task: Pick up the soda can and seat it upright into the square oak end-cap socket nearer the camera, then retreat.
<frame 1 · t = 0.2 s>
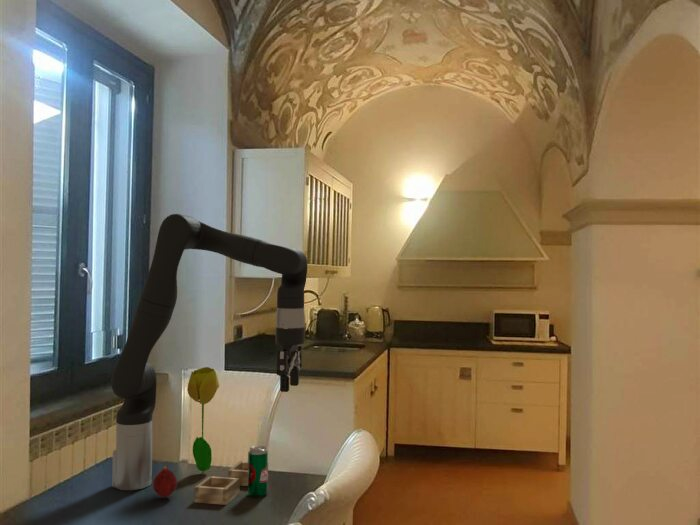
hand: (289, 388, 158), 28 cm above the table, fingers open, 8 cm apart
soda can: (257, 495, 159), on the table
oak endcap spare: (248, 480, 170), on the table
onion: (165, 498, 156), on the table
flower: (202, 474, 176), on the table
oak endcap: (217, 497, 157), on the table
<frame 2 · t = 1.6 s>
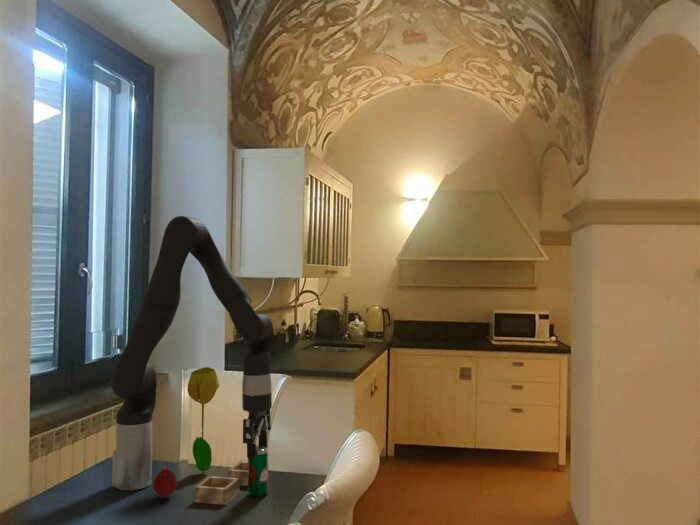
hand: (257, 453, 159), 11 cm above the table, fingers open, 8 cm apart
nothing on the table moved.
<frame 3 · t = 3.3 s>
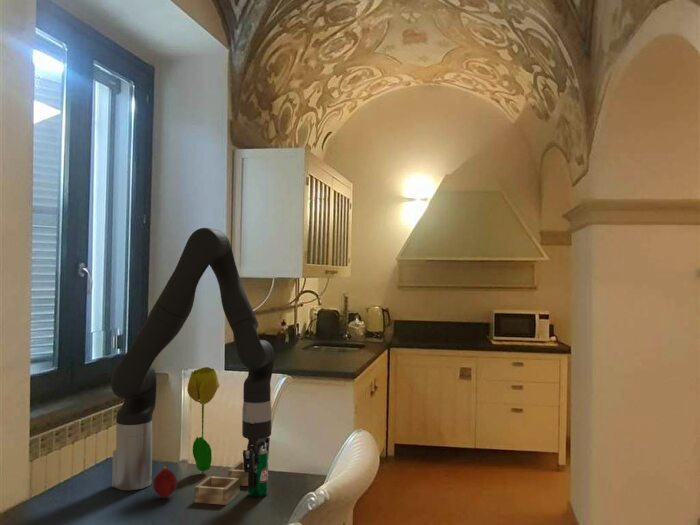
hand: (256, 483, 159), 3 cm above the table, fingers closed on soda can, 5 cm apart
soda can: (257, 495, 159), on the table, touching gripper
everything else where it was.
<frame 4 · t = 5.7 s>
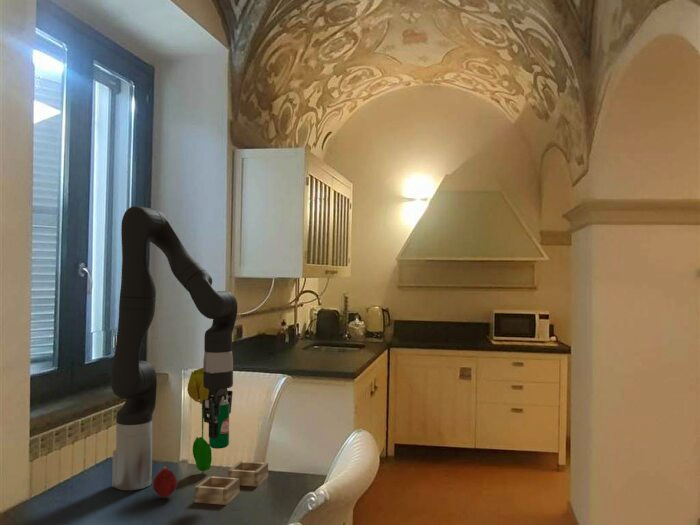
hand: (217, 434, 157), 16 cm above the table, fingers closed on soda can, 5 cm apart
soda can: (219, 447, 157), point 13 cm above the table, touching gripper
everything else where it was.
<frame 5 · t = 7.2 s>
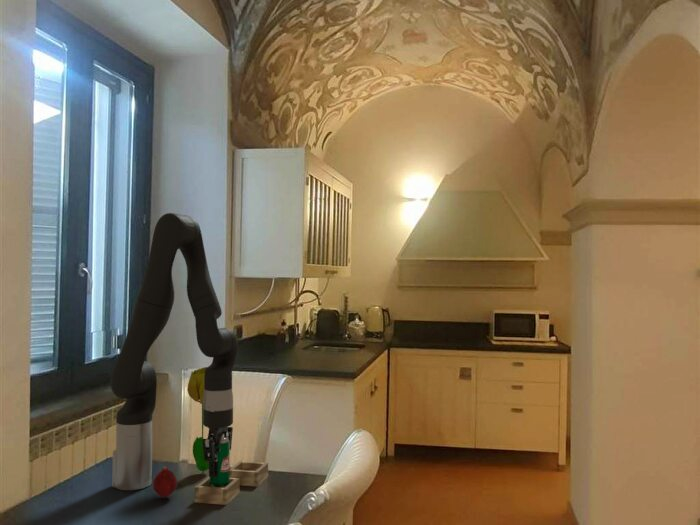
hand: (218, 472, 157), 6 cm above the table, fingers closed on soda can, 5 cm apart
soda can: (219, 485, 157), point 3 cm above the table, touching gripper
everything else where it was.
when the fingers open (5 cm above the table, at t = 8.3 s): soda can drops 1 cm, resting on oak endcap.
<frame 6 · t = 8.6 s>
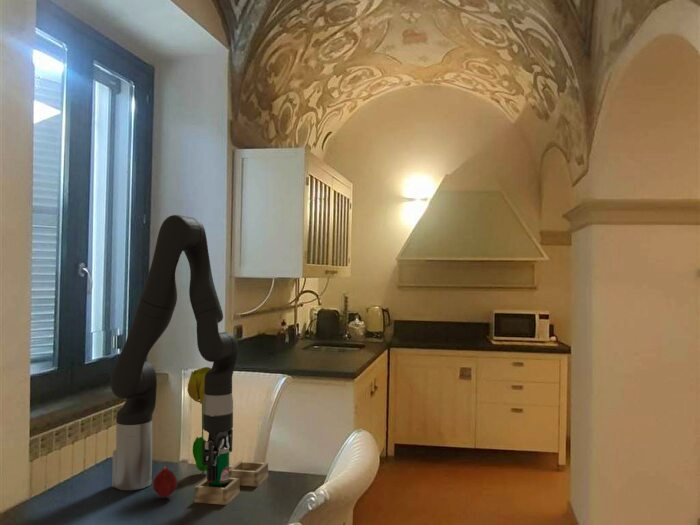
hand: (217, 475, 157), 6 cm above the table, fingers open, 7 cm apart
soda can: (218, 495, 157), point 1 cm above the table, touching oak endcap
everything else where it was.
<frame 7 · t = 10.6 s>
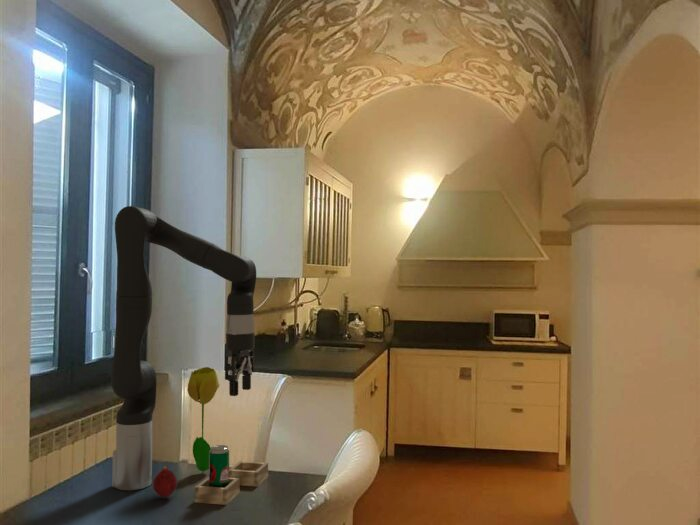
hand: (240, 392, 162), 26 cm above the table, fingers open, 8 cm apart
nothing on the table moved.
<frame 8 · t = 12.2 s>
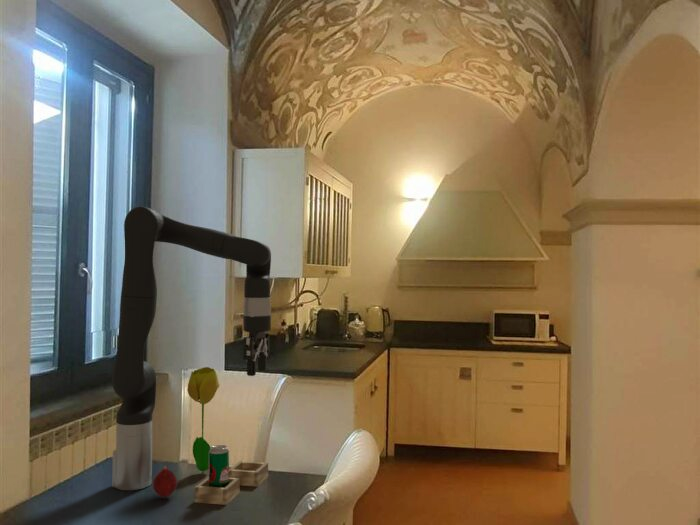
hand: (256, 373, 168), 30 cm above the table, fingers open, 8 cm apart
nothing on the table moved.
at the end: soda can 0.3 cm off-centre on the oak endcap, point 0.6 cm above the oak endcap's base; soda can tilted 0°; soda can touching oak endcap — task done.
